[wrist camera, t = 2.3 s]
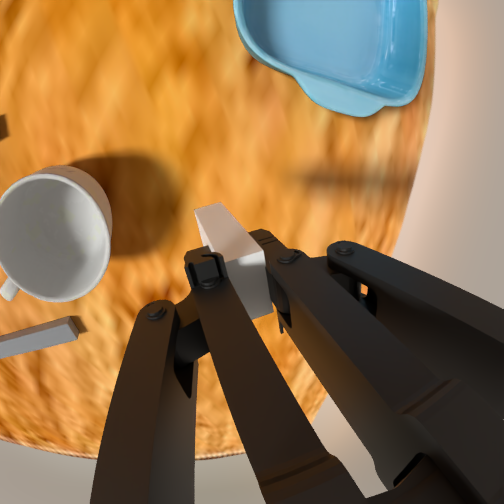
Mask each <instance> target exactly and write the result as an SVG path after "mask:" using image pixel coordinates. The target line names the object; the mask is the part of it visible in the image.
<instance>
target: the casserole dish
mask: <svg viewBox="0 0 504 504" xmlns="http://www.w3.org/2000/svg"><path fill="white" fill-rule="evenodd" d="M233 8H234V15H235V21H236V26H237V30H238V34H239V36H240V39H241V41H242V43H243V45H244V47H245V48H246V50H247V51H248V52H249V53H250V54H251V55H252V56H253V57H254V58H255V59H256V60H258V61H259V62H260V63H262V64H264V65H266V66H268V67H270V68H272V69H274V70H277V71H279V72H282V73H285V74H288V75H291V76H292V77H294V79H295V80H296V81H297V83H298V84H299V85H300V87H301V88H302V90H303V91H304V92H305V93H306V95H307V96H308V97H309V98H310V99H311V100H312V101H313V102H315V103H316V104H318V105H320V106H322V107H324V108H326V109H329V110H332V111H336V112H339V113H342V114H346V115H350V116H355V117H367V116H370V115H372V114H374V113H376V112H377V111H379V110H380V109H381V108H382V107H384V106H395V107H398V106H404V105H407V104H409V103H410V102H411V101H412V100H413V99H414V98H415V97H416V95H417V93H418V91H419V89H420V87H421V84H422V81H423V77H424V71H425V65H426V55H427V33H428V25H427V0H233Z"/></svg>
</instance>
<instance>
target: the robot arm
mask: <svg viewBox="0 0 504 504" xmlns="http://www.w3.org/2000/svg"><path fill="white" fill-rule="evenodd" d="M194 212H195V216H196V219H197V223H198V227H199V231H200V235H201V239H202V242H203V246H204V247H200V248H197V249H194V250H190V251H187V252H186V254H185V256H184V261H185V267H184V268H185V271H186V274H187V278H188V281H189V284H190V287H191V292H190V294H189V295H188V296H187V297H186V298H185V299H184V300H182V301H181V302H179V303H178V304H176V305H174V304H173V303H172V302H171V301H168V300H157V301H153V302H151V303H149V304H147V305H146V306H144V307H143V308H142V309H141V310H140V312H139V313H138V315H137V318H136V321H135V324H134V327H133V330H132V333H131V336H130V339H129V342H128V345H127V348H126V351H125V354H124V358H123V361H122V364H121V368H120V371H119V374H118V378H117V381H116V385H115V388H114V392H113V396H112V399H111V403H110V407H109V411H108V415H107V419H106V423H105V427H104V431H103V436H102V440H101V445H100V449H99V454H98V459H97V464H96V470H95V475H94V480H93V487H92V493H91V499H90V504H194V467H195V425H196V400H197V380H198V360H197V359H198V358H200V357H202V356H203V355H205V354H207V353H208V352H210V353H211V357H212V360H213V363H214V366H215V369H216V372H217V375H218V378H219V381H220V384H221V386H222V389H223V392H224V395H225V398H226V401H227V404H228V406H229V409H230V412H231V415H232V417H233V420H234V423H235V425H236V428H237V431H238V433H239V436H240V438H241V441H242V443H243V446H244V449H245V451H246V454H247V456H248V458H249V461H250V463H251V466H252V468H253V470H254V473H255V475H256V478H257V480H258V483H259V487H260V490H261V493H262V495H263V497H264V500H265V502H266V504H504V420H503V419H504V309H502V308H500V307H498V306H496V305H494V304H492V303H490V302H488V301H486V300H484V299H482V298H480V297H478V296H475V295H473V294H471V293H469V292H467V291H465V290H463V289H461V288H459V287H457V286H454V285H452V284H450V283H448V282H446V281H443V280H441V279H439V278H437V277H435V276H432V275H430V274H428V273H426V272H423V271H421V270H419V269H417V268H414V267H412V266H410V265H408V264H405V263H403V262H401V261H398V260H396V259H394V258H391V257H389V256H387V255H384V254H382V253H379V252H377V251H375V250H372V249H370V248H367V247H365V246H363V245H360V244H358V243H355V242H351V241H338V242H335V243H333V244H331V245H330V246H328V248H327V256H322V257H315V258H310V257H308V256H307V255H306V254H305V253H304V252H302V251H300V250H297V249H288V248H287V247H285V246H284V245H283V244H282V243H281V242H280V241H279V240H278V239H277V238H276V237H274V235H273V234H272V233H271V232H269V231H267V230H263V229H258V230H255V231H251V232H247V231H246V230H245V229H244V228H243V227H242V226H241V224H240V223H239V222H238V221H237V220H236V219H235V218H234V216H233V215H232V214H231V213H230V212H229V211H228V210H227V209H226V207H225V206H224V205H223V204H222V203H221V202H219V203H216V204H212V205H208V206H205V207H201V208H198V209H194ZM361 283H362V284H363V285H365V286H367V287H368V292H367V295H365V294H363V293H361ZM272 302H273V303H274V305H275V306H276V308H277V315H278V322H279V328H280V332H281V334H282V333H284V332H283V327H284V328H285V330H286V331H287V333H288V334H289V336H290V337H291V339H292V340H293V342H294V343H295V345H296V346H297V348H298V349H299V351H300V352H301V354H302V355H303V357H304V358H305V360H306V361H307V363H308V364H309V366H310V367H311V368H312V370H313V371H314V373H315V374H316V376H317V377H318V379H319V380H320V382H321V383H322V385H323V386H324V388H325V389H326V391H327V392H328V394H329V395H330V397H331V398H332V399H333V401H334V402H335V404H336V405H337V407H338V408H339V410H340V411H341V413H342V414H343V416H344V417H345V418H346V420H347V421H348V423H349V424H350V426H351V427H352V429H353V430H354V431H355V433H356V434H357V436H358V437H359V439H360V440H361V442H362V443H363V445H364V446H365V447H366V449H367V450H368V452H369V453H370V454H371V456H372V458H373V461H374V464H375V470H376V472H377V475H378V476H379V478H380V480H381V481H382V483H383V484H384V486H385V487H386V489H387V490H388V491H386V492H384V493H381V494H378V495H375V496H372V497H369V498H365V497H364V495H363V494H362V492H361V491H360V489H359V488H358V486H357V485H356V483H355V482H354V480H353V479H352V477H351V476H350V474H349V472H348V471H347V470H346V468H345V467H344V465H343V464H342V462H340V460H339V459H338V458H337V457H335V456H333V455H331V454H329V452H327V450H326V449H325V447H324V446H323V444H322V443H321V441H320V439H319V438H318V436H317V434H316V433H315V431H314V429H313V428H312V426H311V424H310V423H309V421H308V419H307V417H306V416H305V414H304V412H303V411H302V409H301V407H300V406H299V404H298V402H297V400H296V399H295V397H294V395H293V393H292V392H291V390H290V388H289V387H288V385H287V383H286V381H285V380H284V378H283V376H282V374H281V372H280V371H279V369H278V367H277V365H276V364H275V362H274V360H273V358H272V357H271V355H270V353H269V351H268V349H267V348H266V346H265V344H264V342H263V340H262V339H261V337H260V335H259V333H258V331H257V329H256V328H255V326H254V324H253V322H252V319H255V318H258V317H261V316H264V315H267V314H269V313H272V312H273V305H272Z"/></svg>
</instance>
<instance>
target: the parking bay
mask: <svg viewBox="0 0 504 504" xmlns="http://www.w3.org/2000/svg"><path fill="white" fill-rule="evenodd" d="M78 334H79V331H78V329H77V327H76V326H75V324H74V323H73V321H72V319H71V317H70V316H68V317H65V318H61V319H58V320H54V321H51V322H47V323H44V324H41V325H37V326H34V327H30V328H27V329H23V330H20V331H16V332H13V333H10V334H6V335H3V336H0V359H1V358H5V357H9V356H14V355H18V354H22V353H26V352H31V351H35V350H39V349H43V348H47V347H51V346H55V345H59V344H63V343H66V342H70V341H74V340H77V339H78Z"/></svg>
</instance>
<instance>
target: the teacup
mask: <svg viewBox="0 0 504 504" xmlns="http://www.w3.org/2000/svg"><path fill="white" fill-rule="evenodd" d="M111 236H112V213H111V208H110V204H109V201H108V198H107V196H106V194H105V192H104V190H103V189H102V187H101V186H100V185H99V183H98V182H97V181H96V180H95V179H94V178H93V177H92V176H90V175H89V174H88V173H86V172H84V171H82V170H80V169H78V168H75V167H71V166H65V165H58V166H51V167H47V168H44V169H41V170H39V171H37V172H35V173H33V174H31V175H29V176H26V177H24V178H22V179H20V180H18V181H17V182H15V183H14V184H12V185H11V186H10V187H9V188H8V189H7V190H6V192H5V193H4V194H3V195H2V197H1V199H0V265H1V267H2V268H3V270H4V272H5V273H6V274H7V276H8V278H7V280H6V281H5V283H4V284H3V286H2V287H1V289H0V293H1V295H2V296H3V297H4V298H5V299H6V300H8V301H11V300H12V299H13V298H14V297H15V295H16V294H17V293H18V291H19V290H20V289H21V290H23V291H24V292H26V293H28V294H30V295H32V296H34V297H35V298H38V299H40V300H44V301H49V302H67V301H72V300H75V299H77V298H80V297H82V296H84V295H86V294H87V293H89V292H90V291H91V290H92V289H94V288H95V287H96V285H97V284H98V283H99V282H100V280H101V279H102V277H103V275H104V273H105V272H106V269H107V266H108V263H109V259H110V252H111Z"/></svg>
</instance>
